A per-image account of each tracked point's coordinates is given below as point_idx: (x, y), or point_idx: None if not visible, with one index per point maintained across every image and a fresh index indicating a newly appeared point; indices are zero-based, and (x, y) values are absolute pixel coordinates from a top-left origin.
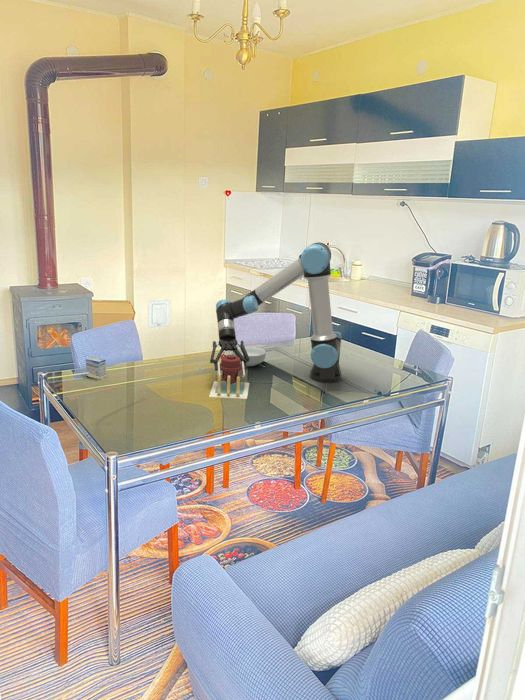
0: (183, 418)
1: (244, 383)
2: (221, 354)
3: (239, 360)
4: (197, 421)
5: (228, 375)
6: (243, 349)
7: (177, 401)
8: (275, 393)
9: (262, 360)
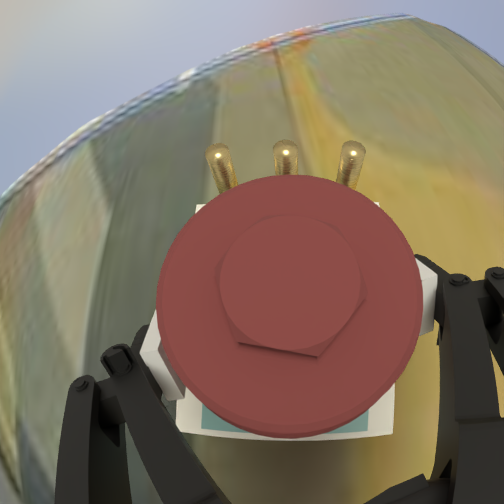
0: (394, 82)
1: (203, 418)
2: (441, 419)
3: (173, 244)
4: (351, 70)
5: (289, 155)
6: (79, 492)
7: (470, 178)
8: (73, 313)
9: None
